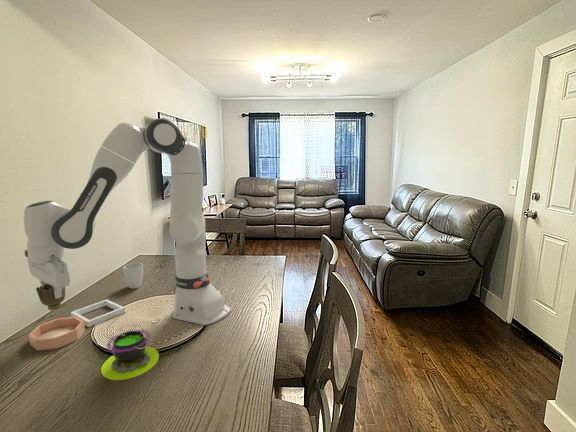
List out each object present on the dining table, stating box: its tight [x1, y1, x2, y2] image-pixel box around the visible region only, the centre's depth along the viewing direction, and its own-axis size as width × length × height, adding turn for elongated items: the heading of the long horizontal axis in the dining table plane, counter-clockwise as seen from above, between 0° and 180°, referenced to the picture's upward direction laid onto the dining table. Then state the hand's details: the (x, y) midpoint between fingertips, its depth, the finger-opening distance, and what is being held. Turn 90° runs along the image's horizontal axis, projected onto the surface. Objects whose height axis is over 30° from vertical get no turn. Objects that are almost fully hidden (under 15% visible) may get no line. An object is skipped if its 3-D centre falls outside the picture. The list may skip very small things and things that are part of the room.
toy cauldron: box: [100, 324, 160, 381], centre depth 90 cm, size 15×15×11 cm
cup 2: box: [35, 284, 66, 311], centre depth 101 cm, size 8×7×8 cm
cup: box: [122, 262, 144, 290], centre depth 144 cm, size 8×8×10 cm
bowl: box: [28, 316, 86, 351], centre depth 103 cm, size 14×14×4 cm
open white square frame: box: [70, 299, 126, 328], centre depth 118 cm, size 13×13×2 cm
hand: (52, 294), depth 101 cm, fingers closed on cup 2, 7 cm apart
